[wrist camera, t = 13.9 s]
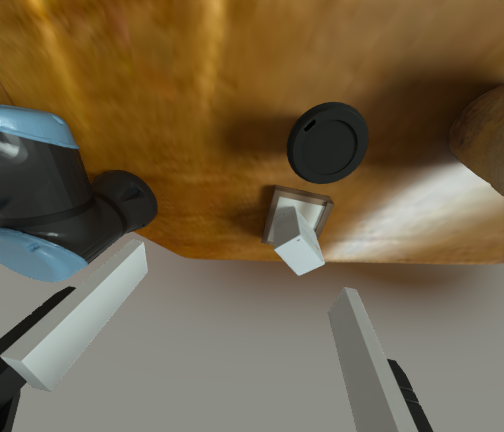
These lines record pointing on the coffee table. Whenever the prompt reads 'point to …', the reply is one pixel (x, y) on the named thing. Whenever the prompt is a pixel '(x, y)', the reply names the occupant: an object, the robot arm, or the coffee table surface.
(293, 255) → the small box
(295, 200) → the tray
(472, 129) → the potted plant
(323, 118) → the coffee cup
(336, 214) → the coffee table surface
